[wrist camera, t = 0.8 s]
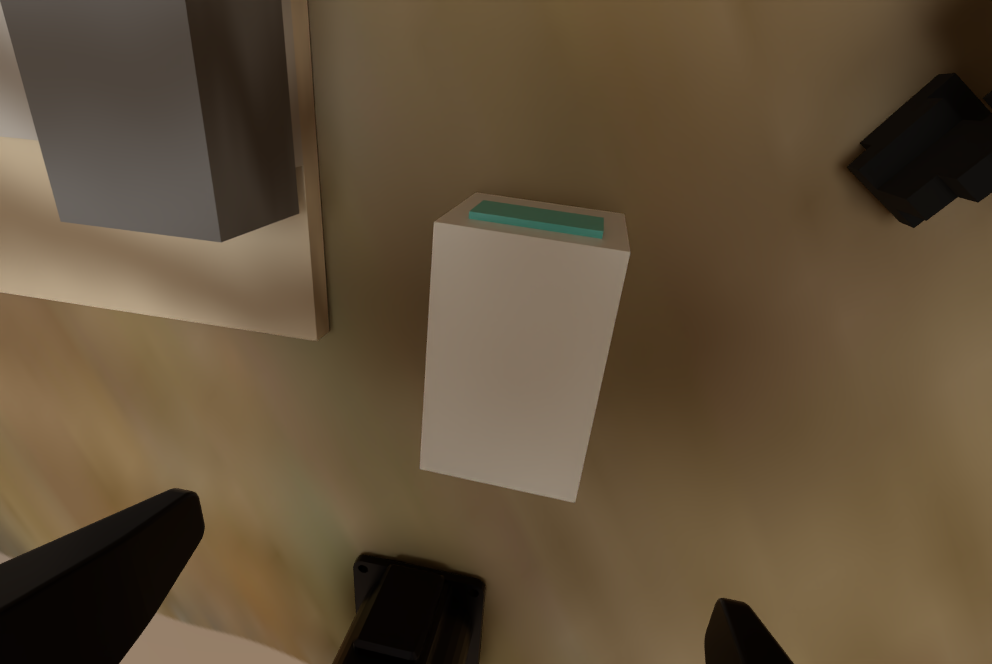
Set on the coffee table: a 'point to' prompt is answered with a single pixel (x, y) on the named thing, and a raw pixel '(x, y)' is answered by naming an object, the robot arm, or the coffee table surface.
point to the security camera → (930, 152)
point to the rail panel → (169, 262)
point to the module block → (519, 340)
